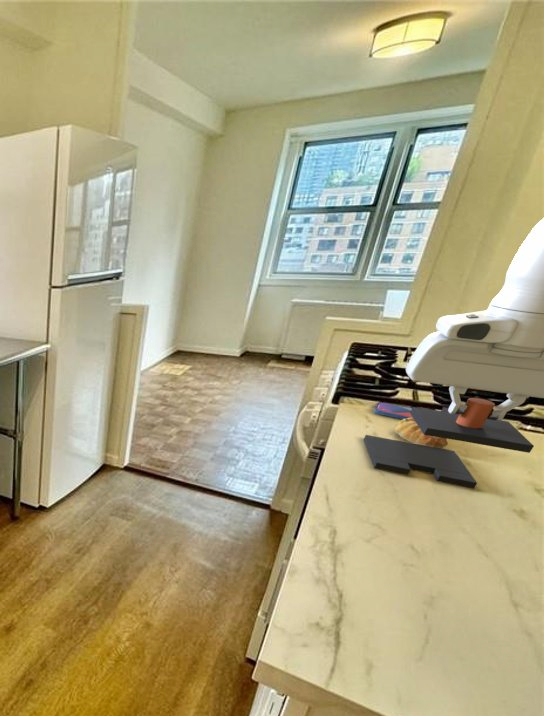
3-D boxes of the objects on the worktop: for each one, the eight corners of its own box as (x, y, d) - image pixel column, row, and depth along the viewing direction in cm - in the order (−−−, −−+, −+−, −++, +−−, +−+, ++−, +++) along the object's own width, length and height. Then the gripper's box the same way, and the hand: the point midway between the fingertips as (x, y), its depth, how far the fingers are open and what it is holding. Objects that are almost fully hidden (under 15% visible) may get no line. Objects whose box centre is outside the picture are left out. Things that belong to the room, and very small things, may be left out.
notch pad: (451, 456, 96) (454, 450, 95) (474, 488, 85) (477, 483, 84) (363, 439, 102) (365, 434, 101) (374, 468, 91) (376, 462, 91)
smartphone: (377, 405, 119) (378, 401, 118) (461, 422, 109) (463, 418, 109) (372, 413, 114) (374, 409, 114) (459, 432, 105) (462, 428, 104)
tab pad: (499, 422, 81) (516, 393, 78) (529, 453, 71) (550, 421, 69) (406, 408, 86) (420, 380, 84) (423, 434, 77) (439, 404, 74)
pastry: (455, 452, 97) (465, 435, 95) (419, 451, 98) (428, 434, 96) (419, 432, 105) (428, 416, 103) (386, 431, 106) (394, 415, 104)
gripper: (617, 333, 68) (557, 422, 74) (426, 316, 77) (388, 397, 83) (643, 344, 63) (577, 438, 69) (436, 325, 72) (395, 410, 79)
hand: (473, 416), depth 76 cm, fingers closed on tab pad, 3 cm apart
